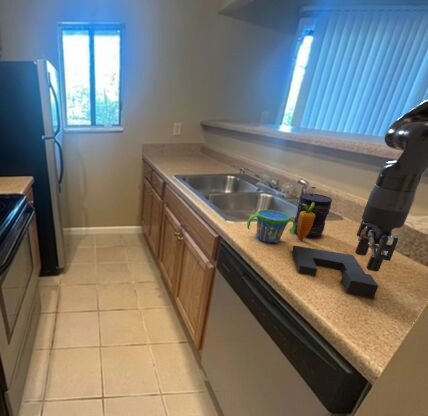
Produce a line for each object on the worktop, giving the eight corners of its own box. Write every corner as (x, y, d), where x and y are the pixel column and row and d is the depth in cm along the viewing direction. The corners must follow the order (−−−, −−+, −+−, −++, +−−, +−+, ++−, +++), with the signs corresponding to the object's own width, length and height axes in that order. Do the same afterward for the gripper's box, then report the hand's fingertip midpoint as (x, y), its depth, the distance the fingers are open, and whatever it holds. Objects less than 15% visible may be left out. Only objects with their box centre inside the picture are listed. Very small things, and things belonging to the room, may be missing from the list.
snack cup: (288, 236, 106) (295, 212, 102) (294, 249, 97) (301, 223, 93) (244, 230, 112) (248, 207, 108) (245, 241, 102) (250, 216, 99)
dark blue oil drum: (327, 239, 103) (341, 194, 96) (298, 237, 105) (310, 193, 98) (313, 228, 112) (325, 186, 106) (287, 227, 114) (297, 185, 107)
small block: (365, 286, 77) (370, 274, 75) (373, 298, 72) (378, 286, 71) (340, 281, 79) (344, 269, 78) (346, 292, 75) (351, 280, 73)
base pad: (350, 261, 89) (352, 255, 88) (366, 286, 77) (369, 278, 76) (292, 251, 95) (293, 245, 94) (298, 272, 84) (300, 265, 83)
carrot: (294, 242, 101) (304, 204, 96) (290, 236, 106) (300, 200, 100) (310, 244, 100) (321, 205, 95) (305, 238, 104) (316, 201, 99)
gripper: (425, 217, 59) (396, 280, 65) (395, 198, 71) (373, 252, 77) (379, 212, 62) (356, 272, 68) (358, 194, 74) (340, 247, 80)
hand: (365, 262), depth 73 cm, fingers open, 8 cm apart
